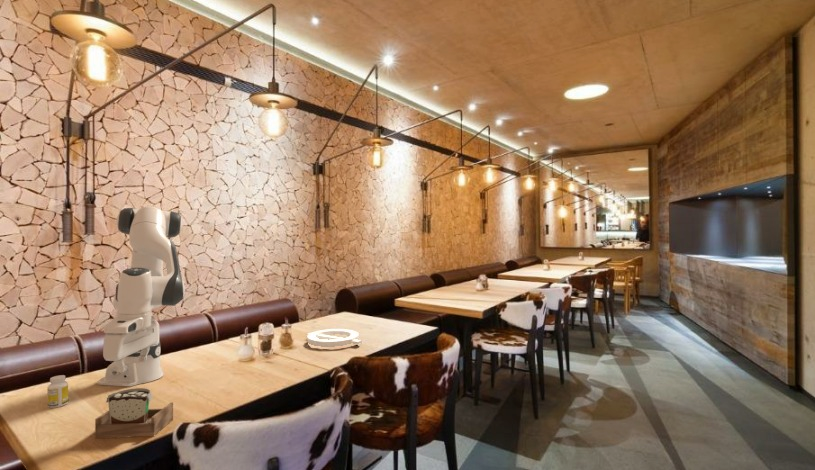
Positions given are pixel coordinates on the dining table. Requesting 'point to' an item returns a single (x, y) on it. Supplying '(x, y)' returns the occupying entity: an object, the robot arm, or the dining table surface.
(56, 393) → the supplement bottle
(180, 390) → the dining table surface
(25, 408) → the dining table surface
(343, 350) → the dining table surface
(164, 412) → the wooden tray
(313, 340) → the white circle with bar
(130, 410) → the food container
